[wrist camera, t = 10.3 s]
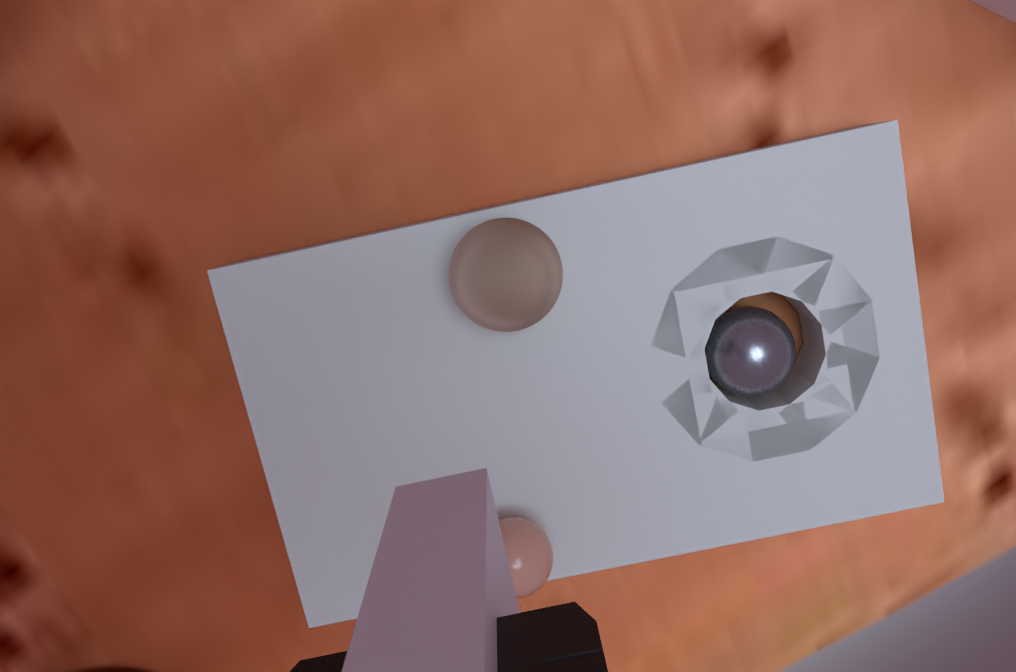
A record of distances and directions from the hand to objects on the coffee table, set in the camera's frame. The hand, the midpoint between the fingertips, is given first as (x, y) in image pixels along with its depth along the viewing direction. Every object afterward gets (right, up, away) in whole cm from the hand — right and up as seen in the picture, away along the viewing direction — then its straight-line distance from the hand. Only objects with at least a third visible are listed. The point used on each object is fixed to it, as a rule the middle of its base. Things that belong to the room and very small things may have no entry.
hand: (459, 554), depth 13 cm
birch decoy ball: (+1, +6, +16) cm, 17 cm away
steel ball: (+10, +3, +19) cm, 22 cm away
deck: (+4, +2, +21) cm, 21 cm away
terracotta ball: (+1, -5, +18) cm, 19 cm away
